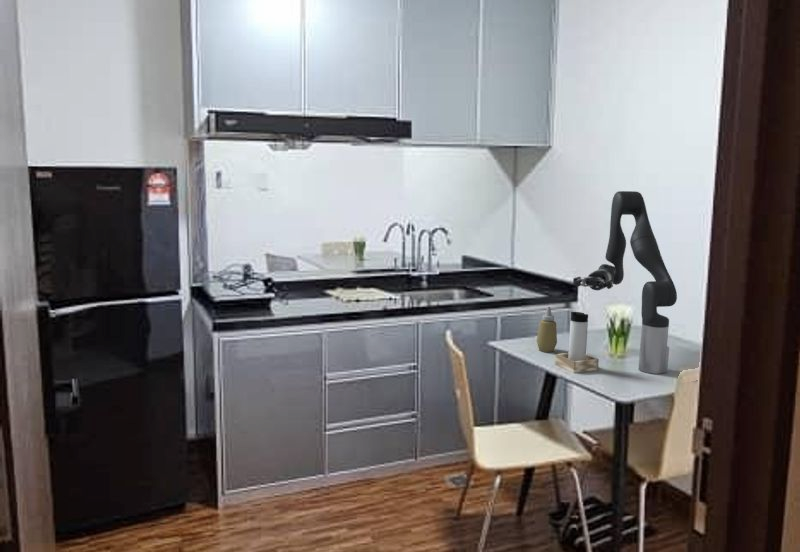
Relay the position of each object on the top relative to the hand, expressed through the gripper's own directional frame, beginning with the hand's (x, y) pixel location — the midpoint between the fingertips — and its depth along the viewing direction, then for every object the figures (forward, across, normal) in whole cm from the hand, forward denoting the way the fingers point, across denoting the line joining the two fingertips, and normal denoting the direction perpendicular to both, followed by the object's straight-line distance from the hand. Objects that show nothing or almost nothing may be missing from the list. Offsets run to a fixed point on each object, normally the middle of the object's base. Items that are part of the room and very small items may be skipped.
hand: (587, 285), depth 259 cm
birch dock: (+8, 0, +30) cm, 31 cm away
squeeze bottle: (-8, -17, +30) cm, 36 cm away
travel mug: (+8, 0, +29) cm, 30 cm away
